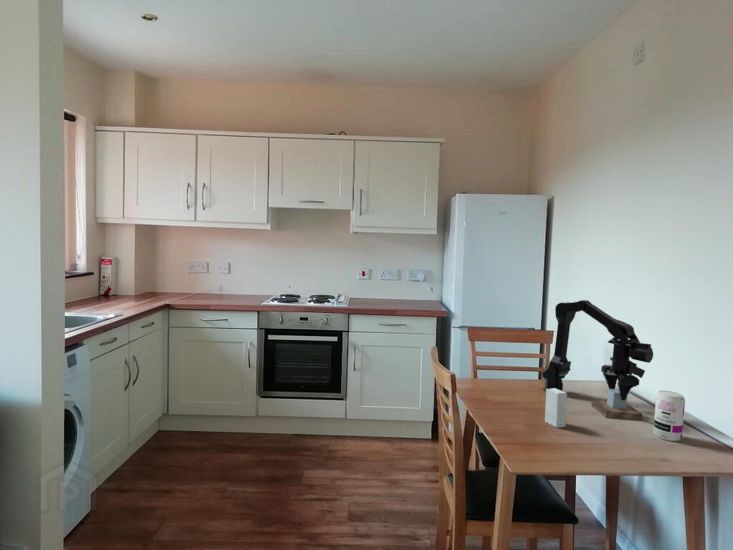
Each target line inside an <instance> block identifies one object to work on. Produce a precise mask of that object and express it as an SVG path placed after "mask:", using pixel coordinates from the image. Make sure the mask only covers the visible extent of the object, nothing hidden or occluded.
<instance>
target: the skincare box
mask: <svg viewBox="0 0 733 550" xmlns="http://www.w3.org/2000/svg"><path fill="white" fill-rule="evenodd" d="M567 398H568V393H567V392H565V391H561V390H558V389H556V388H551V389H546V392H545V409H544V410H545V412H544V422H545V423H547V424H549V425H551V426H553V427H555V428H565V427H566V424H567V422H566V421H567V405H568V403H567V402H568V399H567Z"/></svg>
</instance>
